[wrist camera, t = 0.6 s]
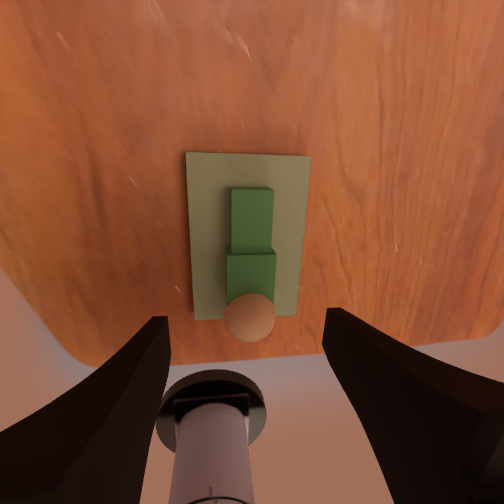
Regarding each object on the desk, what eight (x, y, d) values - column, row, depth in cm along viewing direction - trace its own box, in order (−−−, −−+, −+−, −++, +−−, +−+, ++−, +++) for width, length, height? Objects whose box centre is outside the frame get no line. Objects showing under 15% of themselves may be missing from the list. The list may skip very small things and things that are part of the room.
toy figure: (269, 320, 21) (279, 352, 17) (223, 322, 20) (224, 355, 17) (277, 187, 17) (291, 194, 14) (222, 186, 17) (223, 193, 13)
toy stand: (292, 307, 22) (296, 315, 21) (195, 311, 21) (194, 320, 20) (305, 156, 18) (312, 155, 17) (187, 151, 17) (185, 151, 16)
